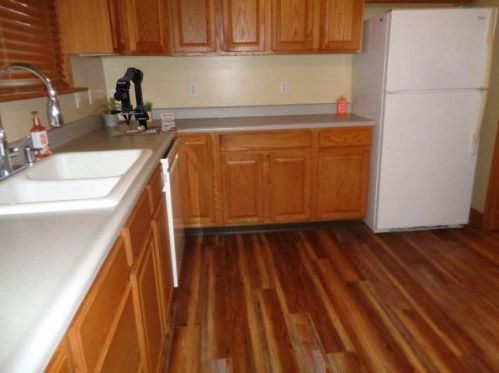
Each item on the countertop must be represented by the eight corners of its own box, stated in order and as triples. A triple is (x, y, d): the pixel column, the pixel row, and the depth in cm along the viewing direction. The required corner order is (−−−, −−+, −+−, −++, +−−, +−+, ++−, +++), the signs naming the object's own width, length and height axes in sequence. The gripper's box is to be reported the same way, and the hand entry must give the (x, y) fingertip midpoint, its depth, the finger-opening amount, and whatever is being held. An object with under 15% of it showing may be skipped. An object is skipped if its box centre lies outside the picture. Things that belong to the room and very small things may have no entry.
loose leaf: (127, 131, 247) (126, 126, 246) (144, 130, 249) (143, 125, 248) (126, 133, 238) (125, 127, 237) (143, 132, 241) (143, 126, 240)
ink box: (174, 129, 260) (172, 112, 257) (175, 130, 256) (174, 112, 252) (161, 130, 257) (160, 113, 254) (163, 131, 252) (161, 113, 249)
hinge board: (113, 134, 247) (112, 126, 245) (158, 131, 253) (157, 124, 252) (111, 137, 235) (110, 129, 234) (158, 134, 242) (157, 126, 240)
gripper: (108, 101, 228) (111, 127, 232) (140, 100, 232) (143, 125, 236) (110, 100, 238) (113, 125, 242) (141, 99, 242) (143, 123, 246)
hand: (128, 125), depth 241 cm, fingers closed
